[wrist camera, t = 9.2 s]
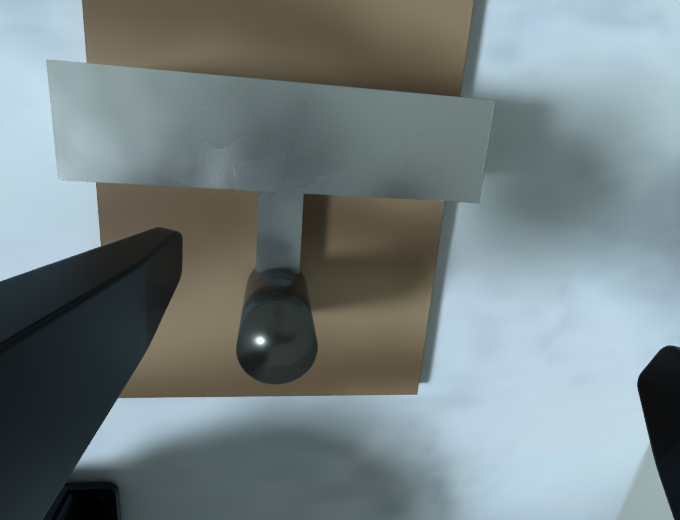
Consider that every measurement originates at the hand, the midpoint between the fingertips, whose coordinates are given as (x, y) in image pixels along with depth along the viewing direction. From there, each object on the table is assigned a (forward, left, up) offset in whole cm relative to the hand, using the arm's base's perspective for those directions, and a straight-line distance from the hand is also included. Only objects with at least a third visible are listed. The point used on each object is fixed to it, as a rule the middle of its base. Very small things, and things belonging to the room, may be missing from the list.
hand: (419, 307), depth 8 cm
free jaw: (0, +2, -10) cm, 10 cm away
